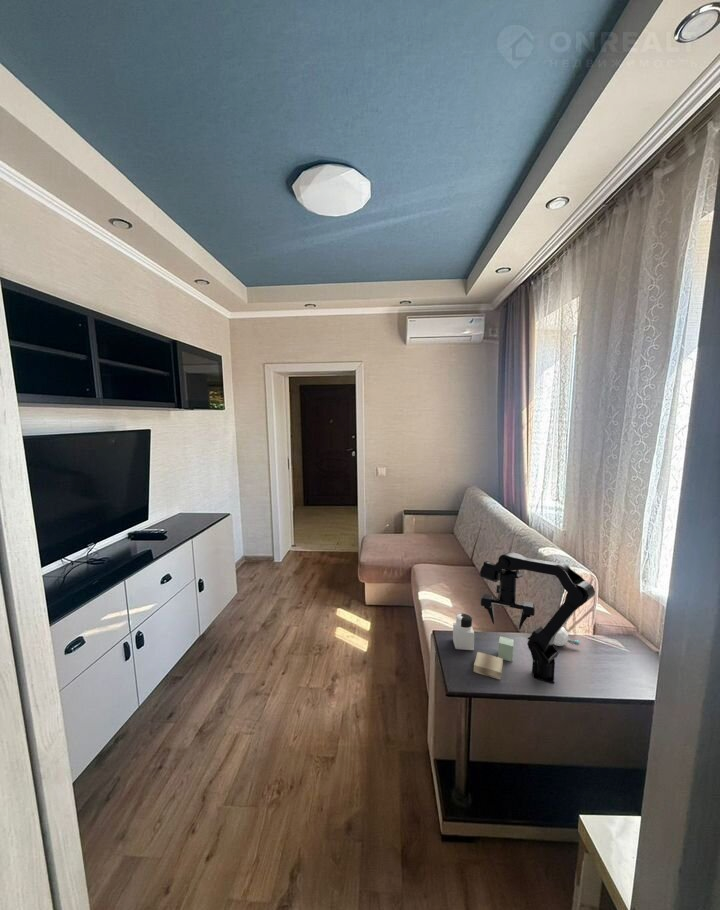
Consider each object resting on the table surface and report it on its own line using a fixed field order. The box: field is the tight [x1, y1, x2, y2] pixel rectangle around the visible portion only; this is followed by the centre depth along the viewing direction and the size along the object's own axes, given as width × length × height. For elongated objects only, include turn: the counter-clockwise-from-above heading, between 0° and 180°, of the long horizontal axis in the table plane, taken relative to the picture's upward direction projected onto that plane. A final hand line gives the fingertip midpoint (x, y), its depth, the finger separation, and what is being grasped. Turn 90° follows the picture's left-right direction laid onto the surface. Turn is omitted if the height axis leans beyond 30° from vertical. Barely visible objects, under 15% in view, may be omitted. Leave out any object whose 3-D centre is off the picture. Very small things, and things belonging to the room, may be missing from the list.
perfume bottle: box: [553, 626, 580, 647], centre depth 149 cm, size 8×8×12 cm
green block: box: [497, 636, 515, 662], centre depth 140 cm, size 5×5×6 cm
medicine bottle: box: [452, 613, 475, 651], centre depth 147 cm, size 7×7×12 cm
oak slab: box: [473, 651, 504, 680], centre depth 133 cm, size 9×9×3 cm
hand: (506, 626), depth 140 cm, fingers open, 9 cm apart
